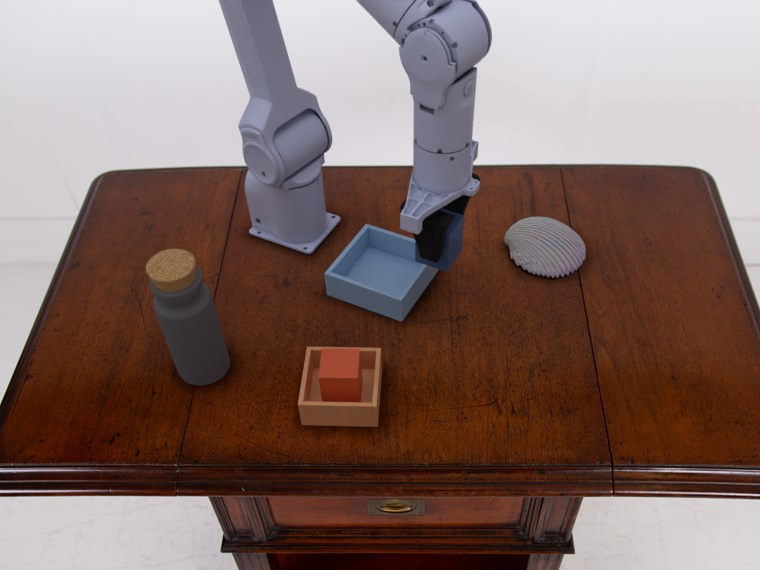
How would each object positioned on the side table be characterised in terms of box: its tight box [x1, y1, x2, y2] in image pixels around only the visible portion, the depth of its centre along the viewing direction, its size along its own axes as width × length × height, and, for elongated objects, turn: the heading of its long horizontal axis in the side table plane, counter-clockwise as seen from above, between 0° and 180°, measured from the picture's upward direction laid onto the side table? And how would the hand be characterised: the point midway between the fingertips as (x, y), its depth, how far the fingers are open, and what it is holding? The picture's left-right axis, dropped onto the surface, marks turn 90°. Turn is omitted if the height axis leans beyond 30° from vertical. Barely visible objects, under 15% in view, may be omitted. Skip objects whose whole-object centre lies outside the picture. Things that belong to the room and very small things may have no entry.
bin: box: [323, 223, 440, 323], centre depth 91 cm, size 10×10×4 cm
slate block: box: [415, 208, 465, 273], centre depth 83 cm, size 4×4×5 cm
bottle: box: [145, 248, 231, 387], centre depth 79 cm, size 6×6×15 cm
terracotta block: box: [318, 348, 363, 403], centre depth 79 cm, size 4×4×5 cm
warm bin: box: [297, 346, 383, 428], centre depth 80 cm, size 8×8×4 cm
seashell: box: [503, 216, 587, 279], centre depth 94 cm, size 10×6×10 cm
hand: (438, 246), depth 84 cm, fingers closed on slate block, 4 cm apart
